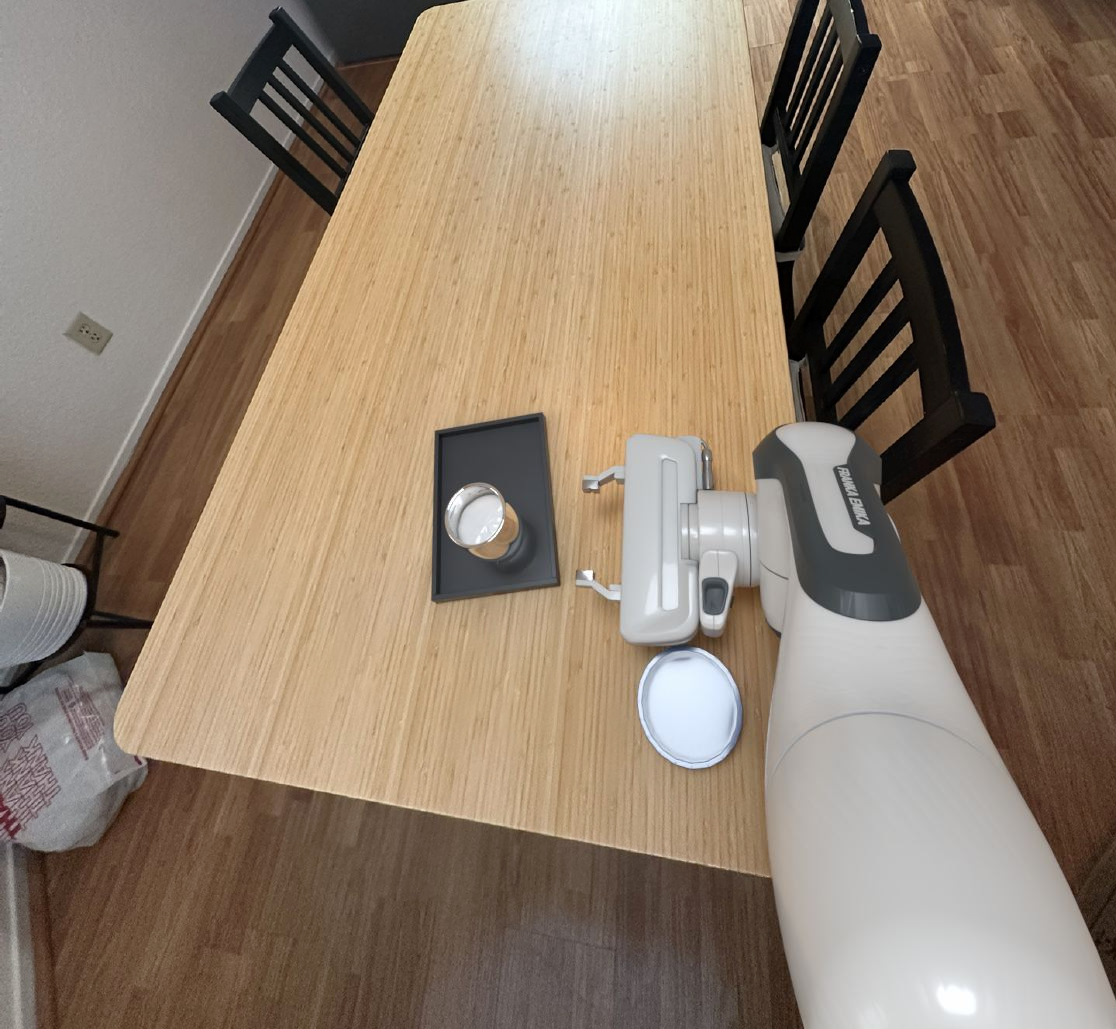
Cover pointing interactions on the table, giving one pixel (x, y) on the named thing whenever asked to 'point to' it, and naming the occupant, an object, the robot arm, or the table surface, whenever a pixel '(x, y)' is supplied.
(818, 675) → the robot arm
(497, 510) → the silver goblet
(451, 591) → the tray
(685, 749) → the bowl
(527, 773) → the table surface
